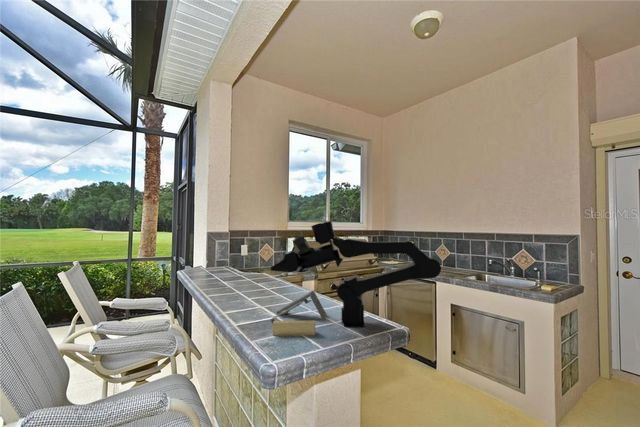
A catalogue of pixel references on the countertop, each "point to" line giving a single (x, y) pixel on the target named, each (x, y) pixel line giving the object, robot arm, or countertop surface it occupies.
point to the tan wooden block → (293, 328)
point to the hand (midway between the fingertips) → (276, 269)
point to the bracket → (299, 301)
